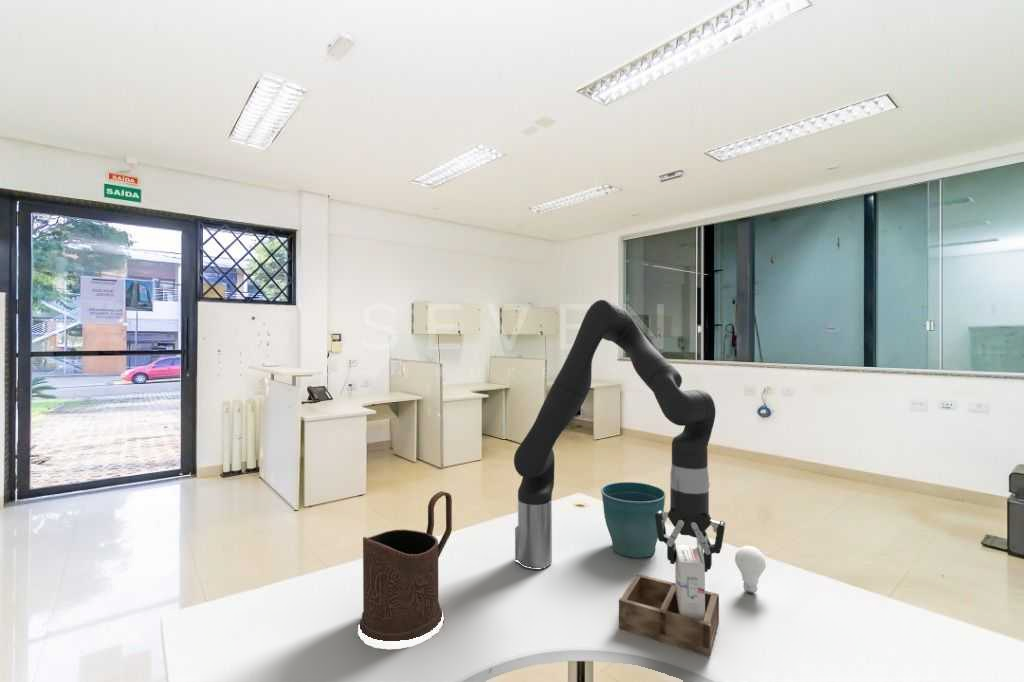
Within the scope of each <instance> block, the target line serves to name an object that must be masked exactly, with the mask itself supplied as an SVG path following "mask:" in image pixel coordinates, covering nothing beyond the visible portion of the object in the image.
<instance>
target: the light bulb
mask: <svg viewBox="0 0 1024 682" xmlns="http://www.w3.org/2000/svg"><path fill="white" fill-rule="evenodd" d="M734 555H735V556H734V561H735V564H736V567H737V569H739V572H740V574H741V578H742V581H743V585H742V587H743V590H744V591H745V592H748V593H749V594H755V593H757V591H758V583H759V579H760V576H762V575H763V572H764V571H765V569H766V567H767V562H766V558H765V555H764V554H763V553H762V551H761V550H759V549H758V548H757V547H755V546H752V545H743V546H741V547H740V548H738V549H737V551H736V552H735V554H734Z"/></svg>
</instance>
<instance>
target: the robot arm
mask: <svg viewBox="0 0 1024 682" xmlns="http://www.w3.org/2000/svg"><path fill="white" fill-rule="evenodd" d="M602 340H605V341H608V342H609V341H610V342H612V343H613V344H615V345H616V346H618V347H619V348H620V349H622V350H623V351H624V352H625V353H626V354H627V355H628V357H629V360H630V361H631V364H632V366H633V369H634V370H635V371H634V372H636V374H637V376H639V378H640V379H641V380H642V381H643V383H644V384H645V385H646V386H647V387H648V388H649V389H650V390H651V391H652V392H653V395H654V397H655V399H656V402H657V404H658V405H659V408H660V409H661V412H662V414H663V415H664V417H665V418H666V419H667V420H668V421H669V422H670V423H672V424H674V425H676V426H681V427H682V426H684V428H683V431H682V432H681V433H680V434H678V435H676V436H674V437H673V439H672V441H671V467H670V468H671V469H670V477H669V478H670V479H669V480H670V484H669V485H670V487H669V488H670V491H669V492H670V497H669V498H670V506H669V507H670V508H669V511H664V512H663V511H662V510H658V511H657V513H656V514H655V520H656V527H657V534H658V539H657V541H659V542H661V543H662V542H663V543H664V544H665V545H666V547H667V549H666V550H667V551H666V552H667V553H666V556H667V560H668V562H669V561H670V562H669V563H670V565H675V561H676V545H677V544H676V543H675V541H676V540H677V538H678V536H679V535H682V536H689V537H691V538H695V539H696V537H697V538H698V541H699V543H700V544H701V545H702V547H703V554H704V564H705V573H708V571H709V570H711V568H712V565H713V561H712V560H713V556H712V555H713V554H718V555H719V554H720V553H721V550H722V547H723V542H724V535H725V531H726V530H725V529H726V522H725V521H723V520H720V521H717V520H714V519H712V517H711V516H710V512H709V511H710V510H709V509H710V504H709V503H710V500H709V499H710V489H709V488H710V480H709V479H710V477H709V471H708V469H709V467H708V460H709V459H708V457H709V456H708V445H709V442H710V439H711V436H712V432H713V427H714V424H715V419H716V405H715V402H714V399H713V398H712V396H711V395H710V394H709V393H708V392H707V391H705V390H701V389H693V390H692V389H691V390H682V389H680V387H681V385H682V383H683V381H682V380H683V378H682V375H681V374H680V372H679V371H678V370H677V369H676V368H675V367H674V366H673V365H672V364H671V363H670V362H669V361H668V360H667V359H666V357H664V356H663V355H662V354H661V352H659V351H658V350H657V349H656V348H655V347H654V346H653V344H652V343H651V342H650V341H649V340H648V339H647V337H646V336H645V335H644V334H643V331H641V329H640V327H639V326H638V324H637V323H636V321H635V320H634V318H633V316H631V314H630V313H629V312H628V310H627V309H625V308H623V307H621V306H619V305H617V304H616V303H613V302H611V301H609V300H605V299H599V300H596V301H595V302H593V303H592V304H591V305H590V307H588V310H587V311H586V313H585V315H584V317H583V319H582V322H581V324H580V327H579V329H578V332H577V334H576V337H575V339H574V342H573V344H572V346H571V348H570V351H569V352H568V355H566V358H565V361H564V363H563V364H562V366H561V369H560V370H559V372H558V374H557V376H556V377H555V380H554V381H553V382H552V385H551V387H550V389H549V391H548V393H547V396H546V398H545V399H544V401H543V403H542V405H541V408H540V410H539V412H538V414H537V417H536V419H535V421H534V423H533V425H532V427H531V428H530V429H529V431H528V432H527V434H526V436H525V437H524V439H523V440H522V442H521V443H520V444H519V446H518V447H517V449H516V451H515V453H514V457H513V465H514V469H515V471H516V472H517V474H518V475H519V476H520V477H522V478H521V481H520V485H519V487H518V490H517V525H516V526H515V527H514V533H515V534H514V546H515V547H514V561H515V560H518V561H519V562H520V563H521V564H522V565H524V566H527V567H531V568H544V567H547V566H549V565H550V564H551V563H553V546H552V545H553V525H552V524H553V517H552V515H553V514H552V513H553V512H552V511H553V510H552V509H553V508H552V506H553V504H552V503H553V501H552V497H553V490H554V487H555V461H556V460H555V453H554V449H553V448H554V446H555V443H556V441H557V439H559V437H560V435H561V434H562V432H564V430H565V429H566V428H567V426H568V425H569V424H570V423H571V421H573V419H574V418H575V416H576V415H577V414H578V412H579V411H580V408H581V407H582V406H583V404H584V402H585V400H586V398H587V396H588V395H589V392H590V389H591V386H592V372H593V371H592V367H593V365H592V364H593V359H594V355H595V353H596V351H597V349H598V346H599V345H600V344H601V341H602ZM668 519H669V521H670V522H671V524H672V525H673V527H674V528H673V530H672V532H671V534H670V535H668V534H667V530H666V525H665V524H666V522H667V520H668ZM710 526H711V527H712V531H713V533H715V534H716V535H715V540H714V544H713V543H712V544H711V541H710V538H709V535H708V534H707V531H706V530H708V528H709V527H710ZM551 565H552V564H551ZM551 565H550V566H551ZM550 566H549V567H550ZM547 568H548V567H547ZM544 569H545V568H544Z"/></svg>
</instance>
